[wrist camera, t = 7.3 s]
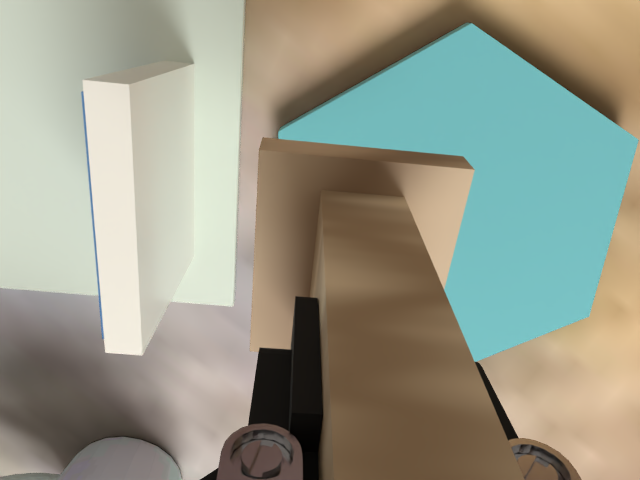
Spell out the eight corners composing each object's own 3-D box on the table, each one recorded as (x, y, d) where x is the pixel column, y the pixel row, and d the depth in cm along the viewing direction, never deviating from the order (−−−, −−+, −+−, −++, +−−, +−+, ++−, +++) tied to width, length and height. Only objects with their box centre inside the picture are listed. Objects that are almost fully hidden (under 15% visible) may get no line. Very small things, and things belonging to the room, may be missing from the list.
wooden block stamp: (463, 156, 15) (757, 502, 5) (418, 340, 18) (545, 773, 8) (262, 137, 15) (160, 468, 5) (253, 329, 18) (180, 765, 8)
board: (247, -51, 22) (245, -53, 22) (234, 301, 29) (233, 306, 29) (-103, -91, 22) (-114, -94, 21) (-30, 279, 29) (-37, 284, 28)
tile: (194, 63, 24) (129, 84, 15) (194, 256, 27) (142, 355, 19) (160, 60, 23) (75, 78, 15) (164, 253, 27) (99, 352, 19)
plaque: (349, 388, 33) (658, 265, 29) (350, 411, 32) (679, 283, 27) (202, 164, 27) (568, -37, 23) (193, 175, 25) (589, -41, 21)
